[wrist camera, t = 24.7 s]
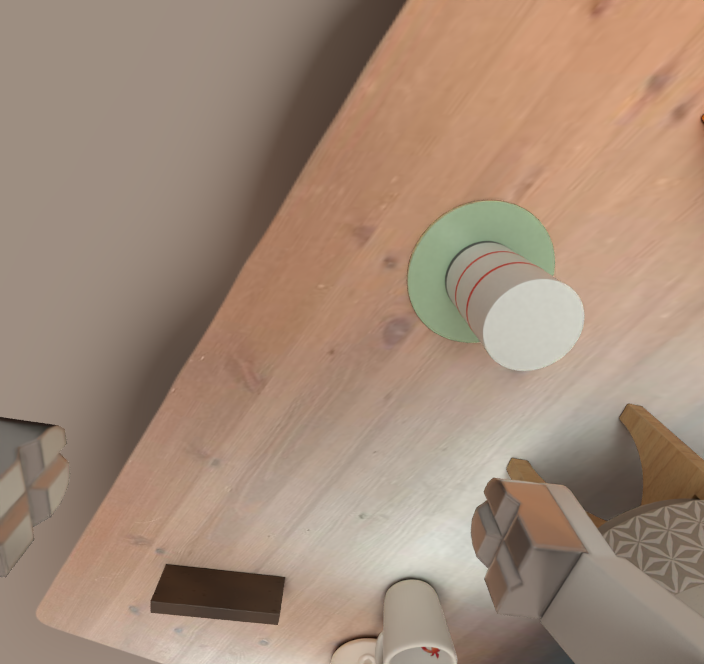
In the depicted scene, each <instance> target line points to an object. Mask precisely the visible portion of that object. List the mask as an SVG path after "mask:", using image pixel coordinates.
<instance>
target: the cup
mask: <svg viewBox="0 0 704 664" xmlns="http://www.w3.org/2000/svg"><path fill="white" fill-rule="evenodd" d="M375 663H376V664H457V656H456V652H455V649H454V646H453V643H452V639H451V636H450V633H449V630H448V627H447V623H446V620H445V617H444V614H443V611H442V607H441V604H440V601H439V598H438V596H437V594H436V592H435V590H434V589H433V588H432V587H431V586H430V585H429V584H427V583H426V582H423V581H420V580H404V581H400V582H398V583H396V584H394V585H393V586H392V587H391V588H390V589H389V590H388V591H387V593H386V595H385V599H384V615H383V631H382V632H381V633H380V634H379V636H378V638H377V642H376V647H375Z"/></svg>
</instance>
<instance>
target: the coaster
mask: <svg viewBox="0 0 704 664" xmlns="http://www.w3.org/2000/svg"><path fill="white" fill-rule="evenodd" d="M481 241H493V242H497V243H500V244H502V245H504V246H506V247H508V248H509V249H510V250H512V251H513V252H515V253H517V254H518V255H520V256H522V257H524V258H525V259H526V260H528V261H529V262H531V263H533V264H534V265H536V266H538V267H540V268H541V269H543V270H544V271H545V272H547V273H549V274H550V275H552V276H553V275H554V268H555V256H554V249H553V244H552V242H551V239H550V236H549V234H548V232H547V231H546V229H545V227H544V226H543V225H542V223H541V222H540V221H539V220H538V219H537V218H536V217H535V216H534V215H533V214H531V213H530V212H528V211H527V210H525V209H524V208H522V207H519V206H517V205H515V204H512V203H508V202H505V201H498V200H481V201H474V202H470V203H466V204H463V205H461V206H458V207H456V208H454V209H452V210H450V211H448V212H447V213H445V214H443V215H442V216H441V217H439V218H438V219H437V220H436V221H434V222H433V223H432V224H431V225H430V226H429V227H428V228H427V230H426V231H425V232H424V233H423V234H422V236H421V237H420V239H419V241H418V242H417V244H416V246H415V248H414V250H413V252H412V255H411V258H410V261H409V265H408V270H407V289H408V294H409V298H410V301H411V303H412V306H413V308H414V310H415V312H416V314H417V315H418V317H419V318H420V319H421V321H422V322H423V323H424V324H425V325H426V326H427V327H428V328H429V329H431V330H432V331H434V332H435V333H437V334H438V335H440V336H442V337H445V338H447V339H450V340H454V341H458V342H466V343H477V342H480V341H479V339H478V338H477V336H476V335H475V334H474V333H473V331H472V330H471V328H470V326H469V325H468V324H467V322H466V321H465V319H464V318H463V317H462V315H461V314H460V312H459V311H458V309H457V308H456V306H455V305H454V304H453V302H452V301H451V300H450V298H449V296H448V294H447V292H446V288H445V275H446V271H447V268H448V266H449V264H450V262H451V261H452V259H453V258H454V257H455V256H456V254H457V253H459V252H460V251H461V250H462V249H464V248H465V247H467V246H469V245H471V244H473V243H477V242H481Z"/></svg>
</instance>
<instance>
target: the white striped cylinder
mask: <svg viewBox="0 0 704 664" xmlns="http://www.w3.org/2000/svg"><path fill="white" fill-rule="evenodd" d="M445 288H446V292H447V294H448V296H449V298H450V300H451V301H452V302H453V304H454V305H455V306H456V308H457V309H458V311H459V312H460V314H461V315H462V317H463V318H464V319H465V321H466V322H467V324H468V325H469V326H470V328H471V330H472V331H473V333H474V334H475V335H476V336H477V338H478V339H479V341H480V342H481V344H482V345H483V347H484V348H485V349H486V351H487V352H488V354H489V355H490V356H491V358H492V359H493V360H494V361H496V362H497V363H498V364H500V365H502V366H504V367H506V368H509V369H512V370H517V371H531V370H537V369H541V368H544V367H546V366H549V365H551V364H553V363H555V362H556V361H558V360H559V359H561V358H562V357H563V356H565V355H566V354H567V353H568V352H569V351H570V350H571V348H572V347H573V346H574V345H575V343H576V342H577V340H578V338H579V336H580V334H581V332H582V329H583V325H584V308H583V304H582V302H581V299H580V298H579V296H578V294H577V293H576V292H575V291H574V290H573V289H572V288H571V287H569V286H568V285H566V284H565V283H563V282H561V281H560V280H558V279H557V278H555V277H553V276H552V275H550V274H549V273H547V272H545V271H544V270H543V269H541V268H540V267H538V266H536V265H534V264H533V263H531V262H529V261H528V260H526V259H525V258H524V257H522V256H520V255H518V254H517V253H515V252H513V251H512V250H510V249H509V248H508V247H506V246H504V245H502V244H500V243H497V242H493V241H481V242H477V243H473V244H471V245H469V246H467V247H465V248H464V249H462V250H461V251H460V252H459V253H457V254H456V256H455V257H454V258H453V259H452V261H451V262H450V264H449V266H448V268H447V271H446V275H445Z"/></svg>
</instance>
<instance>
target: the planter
mask: <svg viewBox="0 0 704 664" xmlns="http://www.w3.org/2000/svg"><path fill="white" fill-rule="evenodd" d="M619 419H620V420H621V421H622V423H623V424H624V425H625V426H626V427H627V429H628V431H629V432H630V434H631V436H632V438H633V440H634V442H635V444H636V447H637V450H638V453H639V456H640V460H641V465H642V472H643V495H642V501H641V506H639V507H637V508H634V509H631V510H629V511H626V512H624V513H622V514H620V515H618V516H616V517H614V518H612V519H611V520H609V521H605V520H603V519H601V518H598V517H596V516H594V515H592V514H590V513H588V512H586V511H585V512H586V513H587V515H588V516H589V517H590V519H591V520H592V522H593V523H594V525H595V526H596V528H597V529H598V530H599V532H600V533H601V535H602V536H603V538H604V539H605V540H606V542H607V543H608V545H609V546H610V548H611V549H612V551H613V552H614V553H615V555H616V556H617V557H623V558H626V559H627V560H628V561H629V562H631V563H632V564H633V565H635V566H636V567H637V568H639V569H640V570H641V571H643V572H644V573H645V574H647V575H648V576H649V577H651V578H652V579H653V580H655V581H656V582H657V583H659V584H660V585H661V586H662V587H664V588H665V589H666V590H668V591H669V592H670V593H672V594H673V595H674V596H676V597H677V598H678V599H680V600H681V601H682V602H684V603H685V604H686V605H688V606H689V607H690V608H691V609H693V610H694V611H695V612H697V613H698V614H699V615H701V616H702V617H703V618H704V460H703V459H702V458H701V457H699V456H698V455H697V454H696V453H695V452H694V451H693V450H691V449H690V448H689V447H688V446H687V445H686V444H685V443H683V442H682V441H681V440H680V439H679V438H678V437H677V436H675V435H674V434H673V433H672V432H671V431H670V430H669V429H667V428H666V427H665V426H664V425H663V424H662V423H661V422H659V421H658V420H657V419H656V418H655V417H654V416H653V415H651V414H650V413H649V412H648V411H647V410H646V409H645V408H643V407H642V406H637V405H632V404H627V406H626V408H625V409H624V411H623V413H622V414H621V416H620V418H619ZM506 470H507V472H508V474H509V476H510V478H511V480H518V481H527V482H536V483H546V482H545V481H544V480H543V479H542V478H541V477H540V476H539V475H538V474H537V473H536V472H535V470H534V469H533V468H532V466H531V465H530V463H529V462H528V461H527V460H520V459H514V458H511V460H510V462H509V464H508V467H507V469H506Z"/></svg>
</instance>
